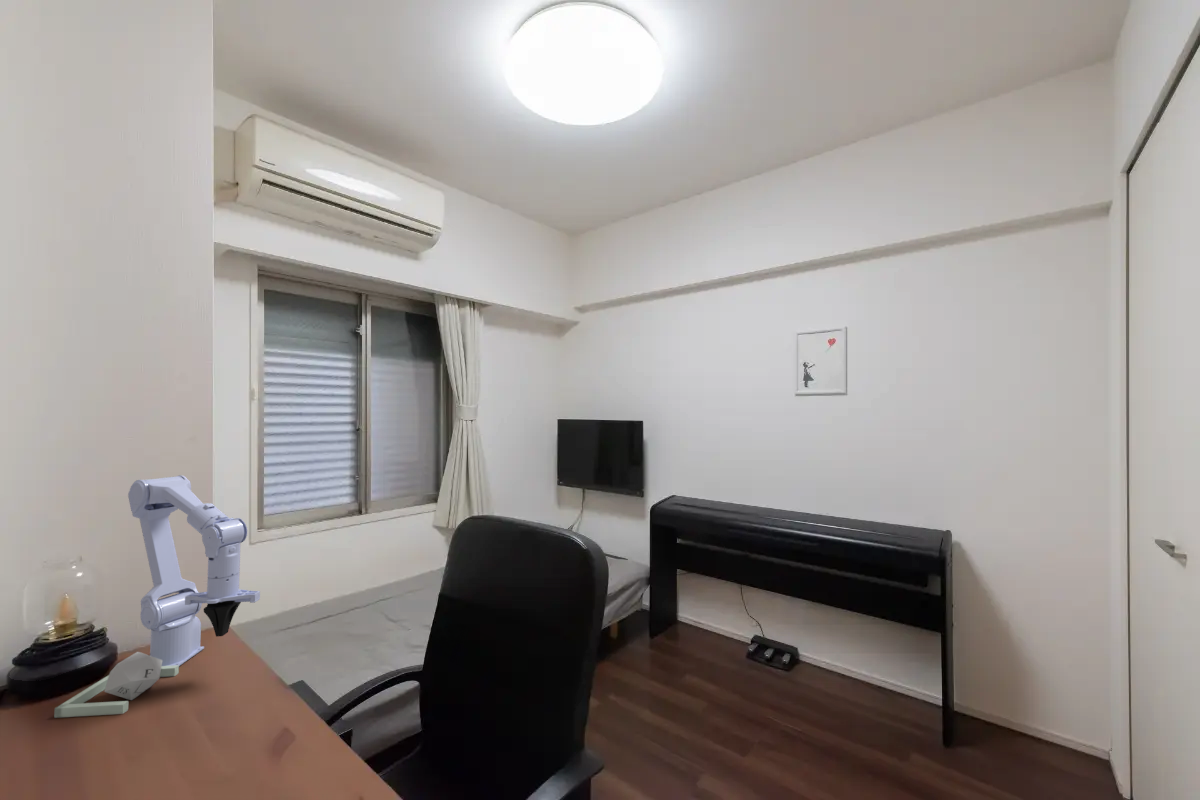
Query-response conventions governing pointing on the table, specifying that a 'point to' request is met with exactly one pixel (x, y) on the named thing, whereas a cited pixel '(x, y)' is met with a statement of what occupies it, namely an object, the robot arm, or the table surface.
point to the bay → (80, 708)
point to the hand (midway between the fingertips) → (221, 634)
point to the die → (133, 675)
